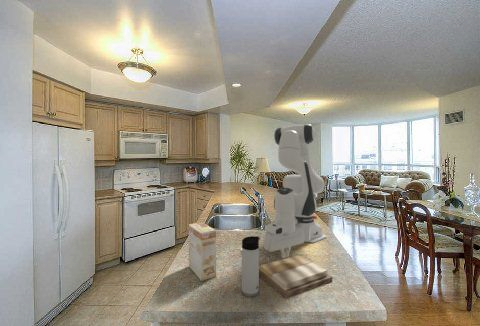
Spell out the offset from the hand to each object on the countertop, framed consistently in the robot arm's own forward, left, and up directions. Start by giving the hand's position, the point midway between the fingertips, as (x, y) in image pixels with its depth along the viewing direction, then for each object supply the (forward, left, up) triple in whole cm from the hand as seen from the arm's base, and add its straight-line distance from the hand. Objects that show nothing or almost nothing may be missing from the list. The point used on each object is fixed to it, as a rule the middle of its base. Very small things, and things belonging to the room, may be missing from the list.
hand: (285, 256), depth 99 cm
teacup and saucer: (+6, -26, -7) cm, 28 cm away
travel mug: (+22, +7, -6) cm, 23 cm away
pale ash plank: (+1, +10, -4) cm, 11 cm away
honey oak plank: (+1, +2, -4) cm, 5 cm away
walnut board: (+1, +6, -6) cm, 8 cm away
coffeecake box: (+33, -16, -6) cm, 37 cm away
